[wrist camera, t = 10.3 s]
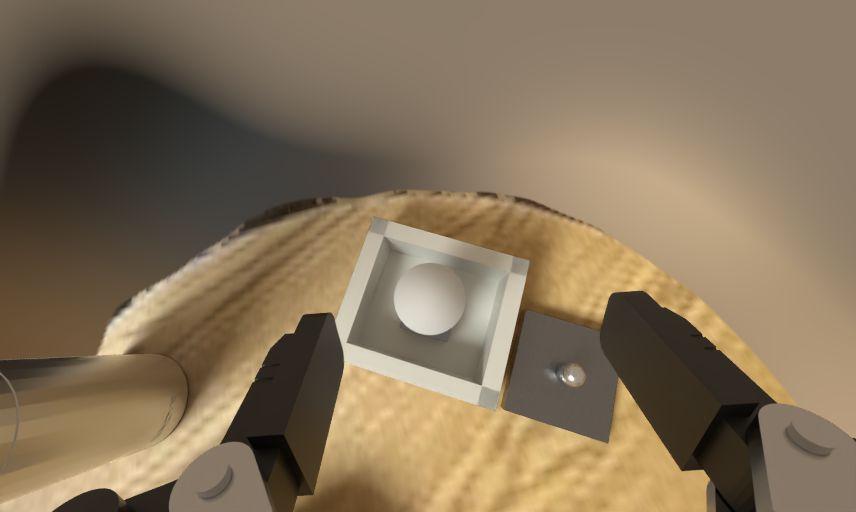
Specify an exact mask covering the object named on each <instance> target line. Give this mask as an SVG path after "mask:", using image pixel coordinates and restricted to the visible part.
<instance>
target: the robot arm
mask: <svg viewBox="0 0 856 512" xmlns="http://www.w3.org/2000/svg"><path fill="white" fill-rule="evenodd" d="M600 344H601V348H602V351H603V353H604V354H605V356H606V358H607V359H608V361H609V362H610V364H611V365H612V367H613V368H614V370H615V371H616V373H617V374H618V376H619V377H620V379H621V380H622V382H623V383H624V385H625V386H626V388H627V389H628V391H629V392H630V394H631V395H632V397H633V398H634V400H635V401H636V403H637V404H638V406H639V407H640V409H641V411H642V412H643V414H644V415H645V417H646V418H647V420H648V421H649V423H650V424H651V426H652V427H653V429H654V430H655V432H656V433H657V435H658V436H659V438H660V439H661V441H662V442H663V444H664V445H665V447H666V448H667V450H668V451H669V453H670V454H671V456H672V457H673V459H674V460H675V462H676V463H677V465H678V466H679V468H680V469H681V471H690V470H704V471H705V472H706V474H707V475H708V477H709V478H710V479H711V480H710V481H709V482H708V485H707V512H856V439H855V438H851V437H850V436H849V435H848V434H847V433H845V432H844V431H842V430H841V429H840V428H839V427H837V426H836V425H834V424H833V423H831V422H829V421H828V420H826V419H824V418H822V417H820V416H818V415H816V414H814V413H812V412H810V411H807V410H805V409H802V408H799V407H795V406H792V405H787V404H779V403H777V402H775V401H774V400H773V399H772V398H771V397H770V396H769V395H768V394H767V393H765V392H764V391H763V390H762V389H761V388H760V387H759V386H758V385H757V384H756V383H755V382H754V381H752V380H751V379H750V378H749V377H748V376H747V375H746V374H745V373H744V372H743V371H742V370H741V369H739V368H738V367H737V366H736V365H735V364H734V363H733V362H732V361H731V360H730V359H729V358H728V357H727V356H725V355H724V354H723V353H722V352H721V351H720V350H716V346H715V345H714V344H712V343H711V342H710V341H709V340H708V339H707V338H706V337H703V336H702V333H701V332H699V331H698V330H697V329H696V328H695V327H694V326H693V325H692V324H691V323H690V322H689V321H688V320H686V319H685V318H683V317H681V316H679V315H678V314H676V313H674V312H672V311H671V310H669V309H667V308H665V307H664V308H662V307H661V306H660V305H659V304H658V303H657V302H656V301H655V300H653V299H652V298H651V297H650V296H649V295H648V294H647V293H646V292H644V291H631V292H617V293H613V294H611V296H610V297H609V300H608V304H607V308H606V312H605V315H604V319H603V323H602V327H601V330H600ZM343 369H344V354H343V349H342V345H341V341H340V338H339V334H338V330H337V327H336V323H335V319H334V316H333V314H332V313H317V314H305V315H303V316H302V318H301V320H300V322H299V324H298V326H297V328H296V330H295V333H292V334H285V335H284V336H283V337H282V338H281V339H280V340H279V341H278V342H277V343H275V344H274V345H273V346H272V347H271V348H270V350H269V352H268V354H267V356H266V358H265V360H264V362H263V364H262V368H260V369H259V371H258V373H257V375H256V377H255V382H253V383H252V385H251V387H250V389H249V391H248V392H247V394H246V396H245V398H244V400H243V402H242V404H241V406H240V408H239V410H238V412H237V414H236V415H235V417H234V419H233V421H232V423H231V425H230V427H229V429H228V431H227V433H226V435H225V437H224V438H223V440H222V442H221V443H220V445H218V446H215V447H213V448H211V449H209V450H208V451H206V452H205V453H203V454H202V455H200V456H199V457H198V458H197V459H195V460H194V461H193V462H192V463H191V464H190V465H189V466H188V467H187V468H186V469H185V471H184V472H183V473H182V474H181V476H180V477H179V479H177V480H175V481H173V482H170V483H168V484H165V485H163V486H160V487H157V488H155V489H152V490H149V491H147V492H144V493H142V494H139V495H136V496H134V497H131V498H129V499H126V500H123V499H122V498H121V497H120V496H119V495H118V494H117V493H116V492H114V491H112V490H111V489H106V488H103V489H95V490H91V491H88V492H85V493H82V494H80V495H78V496H76V497H74V498H72V499H70V500H69V501H67V502H65V503H64V504H62V505H61V506H59V507H58V508H56V509H55V510H54V511H52V512H293V509H294V506H295V502H296V499H297V496H304V495H313V494H314V490H315V486H316V482H317V478H318V474H319V469H320V465H321V461H322V457H323V453H324V449H325V445H326V440H327V436H328V432H329V428H330V424H331V420H332V416H333V411H334V407H335V403H336V399H337V395H338V391H339V387H340V382H341V378H342V374H343ZM187 397H188V386H187V381H186V377H185V375H184V373H183V371H182V369H181V367H180V366H179V365H178V364H177V363H176V362H175V361H174V360H172V359H170V358H169V357H167V356H164V355H161V354H151V353H150V354H127V355H102V356H80V357H59V358H36V359H13V360H0V504H1V503H4V502H6V501H9V500H12V499H14V498H17V497H20V496H22V495H25V494H28V493H30V492H33V491H36V490H38V489H41V488H44V487H46V486H49V485H52V484H54V483H57V482H60V481H62V480H65V479H67V478H70V477H73V476H75V475H78V474H81V473H83V472H86V471H89V470H91V469H94V468H97V467H99V466H102V465H105V464H107V463H110V462H113V461H115V460H118V459H121V458H123V457H126V456H128V455H131V454H134V453H136V452H139V451H142V450H144V449H147V448H150V447H152V446H154V445H156V444H157V443H159V442H161V441H162V440H163V439H164V438H166V437H167V436H168V435H169V434H170V433H171V432H172V431H173V429H174V428H175V427H176V426H177V424H178V423H179V421H180V419H181V417H182V415H183V413H184V410H185V407H186V404H187Z"/></svg>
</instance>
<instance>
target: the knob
mask: <svg viewBox="0 0 856 512" xmlns="http://www.w3.org/2000/svg"><path fill="white" fill-rule="evenodd" d="M394 304H395V309H396V312H397V314H398V316H399V318H400V319H401V323H400V326H399V327H400V328H403V329H406V330H409V331H412V332H416V333H419V334H422V335H425V336H428V337H432V338H435V339H438V340H441V341H444V342H448V339H449V335H450V332H451V328H452V327H453V326H454V325H455V324H456V323H457V322H458V321H459V319H460V318H461V316H462V314H463V312H464V309H465V305H466V293H465V289H464V286H463V283H462V281H461V280H460V278H459V277H458V276H457V275H456V273H454V272H453V271H452V270H451V269H449V268H448V267H446V266H443V265H441V264H437V263H424V264H419V265H417V266H414V267H412V268H411V269H409V270H408V271H407V272H406V273H405V274H404V275H403V276H402V277H401V278H400V280H399V282H398V283H397V286H396V289H395V293H394Z"/></svg>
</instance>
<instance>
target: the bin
mask: <svg viewBox="0 0 856 512" xmlns="http://www.w3.org/2000/svg"><path fill="white" fill-rule="evenodd" d="M424 263H437V264H441V265H443V266H446V267H448V268H449V269H451V270H452V271H453V272H454V273H456V275H457V276H458V277H459V278H460V280H461V281H462V283H463V286H464V289H465V293H466V305H465V309H464V312H463V314H462V316H461V318H460V319H459V321H458V322H457V323H456V324H455V325H454V326H453V327H452V328H451V332H450V335H449V339H448V342H444V341H441V340H438V339H435V338H432V337H428V336H425V335H422V334H419V333H416V332H412V331H409V330H406V329H403V328H400V327H399V326H400V323H401V319H400V318H399V316H398V314H397V312H396V309H395V304H394V293H395V289H396V286H397V283H398V282H399V280H400V278H401V277H402V276H403V275H404V274H405V273H406V272H407V271H408V270H409V269H411V268H412V267H414V266H417V265H419V264H424ZM529 264H530V260H526V259H522V258H519V257H515V256H512V255H508V254H505V253H501V252H498V251H494V250H491V249H487V248H483V247H480V246H476V245H473V244H469V243H466V242H462V241H459V240H455V239H452V238H448V237H444V236H441V235H437V234H434V233H430V232H427V231H423V230H420V229H416V228H413V227H409V226H405V225H402V224H398V223H395V222H391V221H388V220H384V219H381V218H377V217H373V220H372V223H371V225H370V228H369V231H368V234H367V236H366V239H365V242H364V244H363V247H362V250H361V253H360V255H359V258H358V261H357V264H356V266H355V269H354V272H353V274H352V277H351V280H350V283H349V285H348V288H347V291H346V294H345V296H344V299H343V302H342V304H341V307H340V310H339V313H338V315H337V318H336V321H335V323H336V327H337V330H338V334H339V338H340V341H341V345H342V349H343V354H344V362H345V363H348V364H351V365H355V366H358V367H361V368H364V369H367V370H370V371H373V372H376V373H379V374H382V375H385V376H388V377H392V378H395V379H398V380H401V381H404V382H407V383H410V384H413V385H416V386H419V387H422V388H425V389H428V390H432V391H435V392H438V393H441V394H444V395H447V396H450V397H453V398H456V399H459V400H462V401H465V402H468V403H472V404H475V405H478V406H481V407H484V408H487V409H490V410H493V411H496V408H497V403H498V399H499V395H500V390H501V386H502V382H503V377H504V373H505V368H506V364H507V360H508V355H509V351H510V347H511V342H512V338H513V333H514V329H515V325H516V320H517V316H518V312H519V307H520V303H521V299H522V294H523V290H524V285H525V281H526V277H527V272H528V268H529Z"/></svg>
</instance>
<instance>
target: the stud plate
mask: <svg viewBox="0 0 856 512" xmlns="http://www.w3.org/2000/svg"><path fill="white" fill-rule="evenodd" d="M617 380H618V374H617V373H616V371H615V370H614V368H613V367H612V365H611V364H610V362H609V361H608V359H607V358H606V356H605V354H604V353H603V351H602V348H601V344H600V331H598V330H595V329H591V328H588V327H585V326H581V325H578V324H574V323H571V322H568V321H564V320H561V319H557V318H554V317H551V316H547V315H544V314H541V313H537V312H534V311H530V310H527V309H526V310H523V311H522V315H521V319H520V324H519V328H518V332H517V337H516V341H515V346H514V350H513V355H512V359H511V363H510V368H509V372H508V377H507V381H506V386H505V390H504V394H503V399H502V403H501V407H502V408H503V409H504V410H506V411H509V412H512V413H515V414H519V415H522V416H525V417H528V418H531V419H534V420H537V421H540V422H543V423H546V424H549V425H553V426H556V427H559V428H562V429H565V430H568V431H571V432H574V433H577V434H580V435H583V436H587V437H590V438H593V439H596V440H599V441H602V442H605V443H608V442H609V435H610V428H611V422H612V415H613V408H614V401H615V394H616V387H617Z"/></svg>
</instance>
